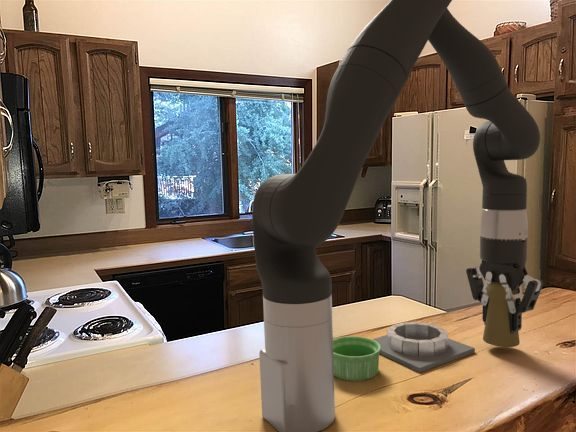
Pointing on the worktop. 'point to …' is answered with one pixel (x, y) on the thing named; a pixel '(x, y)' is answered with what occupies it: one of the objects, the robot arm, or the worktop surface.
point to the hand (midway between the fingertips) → (501, 328)
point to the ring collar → (417, 347)
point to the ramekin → (355, 358)
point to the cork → (499, 318)
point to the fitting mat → (427, 362)
